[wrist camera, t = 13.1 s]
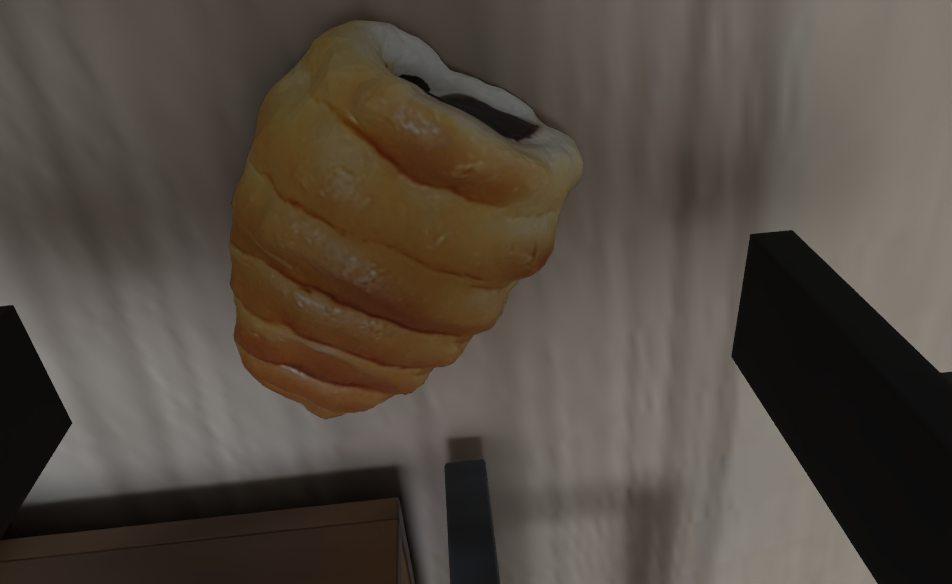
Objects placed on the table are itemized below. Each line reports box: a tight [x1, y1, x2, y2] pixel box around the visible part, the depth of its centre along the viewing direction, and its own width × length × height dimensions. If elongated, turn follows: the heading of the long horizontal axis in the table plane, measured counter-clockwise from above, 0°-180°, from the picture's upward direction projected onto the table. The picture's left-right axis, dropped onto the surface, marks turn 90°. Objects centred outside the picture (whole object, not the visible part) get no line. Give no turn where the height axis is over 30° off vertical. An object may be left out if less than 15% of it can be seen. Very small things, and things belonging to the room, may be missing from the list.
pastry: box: [229, 20, 583, 419], centre depth 15 cm, size 9×7×4 cm
